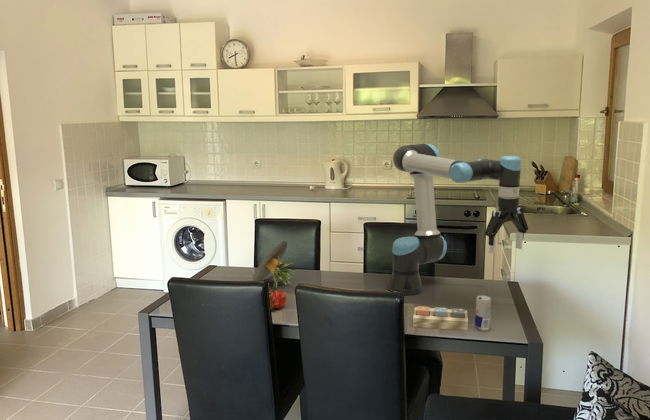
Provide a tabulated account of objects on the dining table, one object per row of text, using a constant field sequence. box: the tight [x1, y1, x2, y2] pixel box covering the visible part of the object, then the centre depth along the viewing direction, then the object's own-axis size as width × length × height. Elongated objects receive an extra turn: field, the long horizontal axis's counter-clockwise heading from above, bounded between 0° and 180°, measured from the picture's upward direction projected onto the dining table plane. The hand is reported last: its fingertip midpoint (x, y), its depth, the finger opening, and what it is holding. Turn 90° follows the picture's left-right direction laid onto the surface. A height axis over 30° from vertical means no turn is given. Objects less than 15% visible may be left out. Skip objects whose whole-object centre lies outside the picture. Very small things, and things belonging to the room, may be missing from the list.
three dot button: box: [434, 306, 448, 317], centre depth 205 cm, size 4×4×3 cm
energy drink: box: [474, 294, 492, 332], centre depth 199 cm, size 5×5×12 cm
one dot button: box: [417, 305, 430, 316], centre depth 207 cm, size 4×4×3 cm
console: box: [412, 306, 469, 331], centre depth 206 cm, size 20×11×4 cm, turn 77°
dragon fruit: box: [268, 289, 288, 310], centre depth 225 cm, size 8×8×12 cm
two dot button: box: [451, 307, 465, 318], centre depth 204 cm, size 4×4×3 cm
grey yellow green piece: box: [251, 240, 298, 289], centre depth 251 cm, size 25×18×25 cm
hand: (505, 250), depth 209 cm, fingers open, 13 cm apart
